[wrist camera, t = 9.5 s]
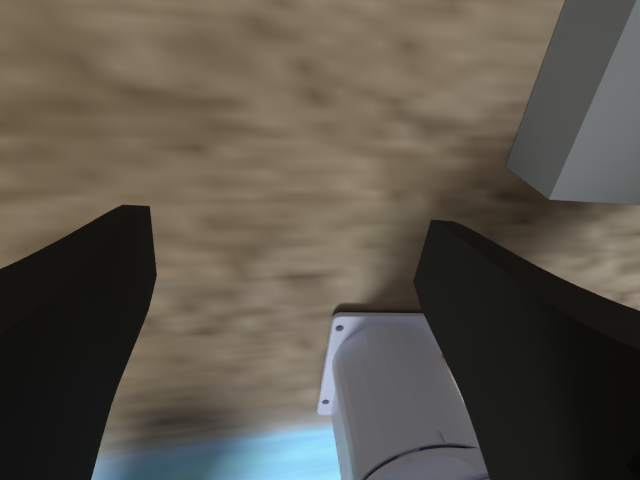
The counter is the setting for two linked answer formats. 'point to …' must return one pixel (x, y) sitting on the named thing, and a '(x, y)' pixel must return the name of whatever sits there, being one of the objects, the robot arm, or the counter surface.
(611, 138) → the socket block
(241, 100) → the counter surface
